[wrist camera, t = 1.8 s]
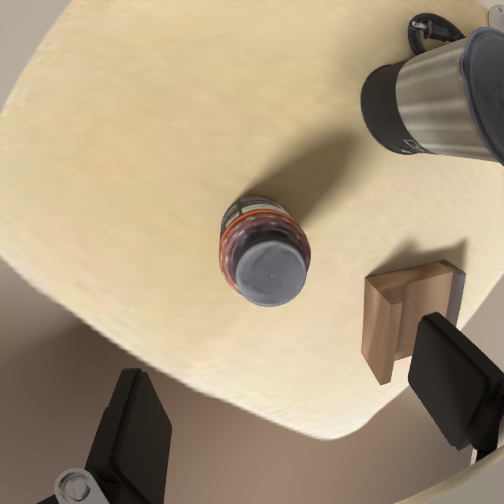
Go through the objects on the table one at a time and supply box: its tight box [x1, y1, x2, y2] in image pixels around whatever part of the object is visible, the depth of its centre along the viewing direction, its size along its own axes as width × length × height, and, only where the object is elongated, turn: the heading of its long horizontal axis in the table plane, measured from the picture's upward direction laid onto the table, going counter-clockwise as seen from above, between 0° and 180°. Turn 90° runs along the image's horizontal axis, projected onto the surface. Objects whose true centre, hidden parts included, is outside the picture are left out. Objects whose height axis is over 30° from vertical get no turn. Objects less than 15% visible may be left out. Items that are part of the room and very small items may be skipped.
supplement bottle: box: [219, 195, 311, 307], centre depth 22 cm, size 6×6×11 cm
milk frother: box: [361, 13, 504, 166], centre depth 16 cm, size 14×16×15 cm
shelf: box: [361, 260, 466, 385], centre depth 29 cm, size 12×10×6 cm
